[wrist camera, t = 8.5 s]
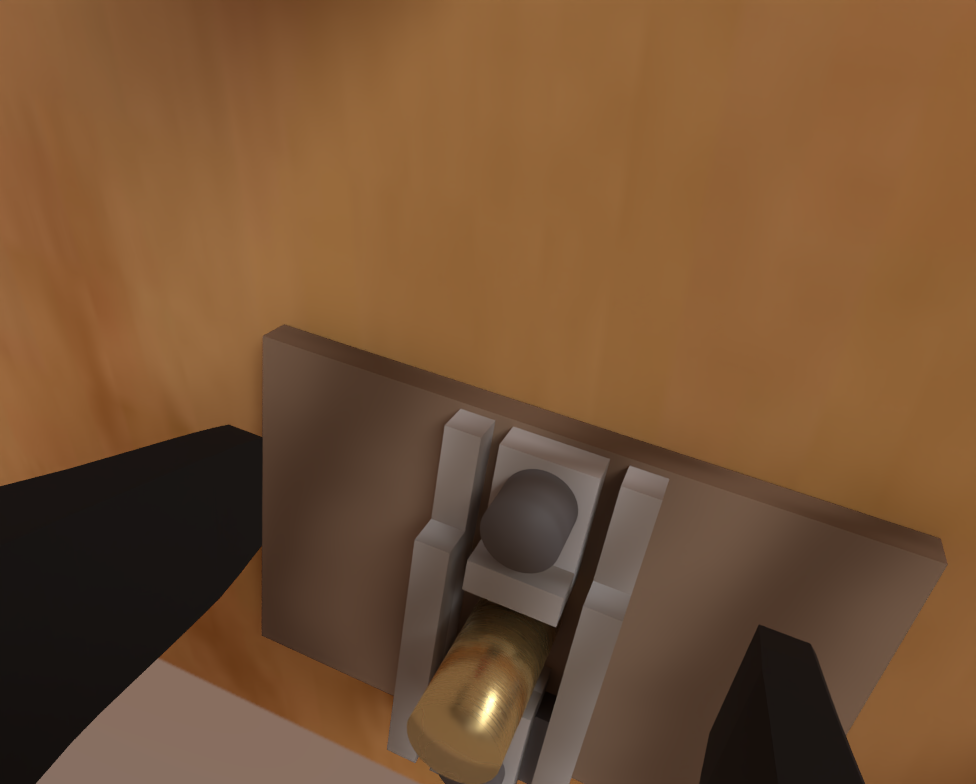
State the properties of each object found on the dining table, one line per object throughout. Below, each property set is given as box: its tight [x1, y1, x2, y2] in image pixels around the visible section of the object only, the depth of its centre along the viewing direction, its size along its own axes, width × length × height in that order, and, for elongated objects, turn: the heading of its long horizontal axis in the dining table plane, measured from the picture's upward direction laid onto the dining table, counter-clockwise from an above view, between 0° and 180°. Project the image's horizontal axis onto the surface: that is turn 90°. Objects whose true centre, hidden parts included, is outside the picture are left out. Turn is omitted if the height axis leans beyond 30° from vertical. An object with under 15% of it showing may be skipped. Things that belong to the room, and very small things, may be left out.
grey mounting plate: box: [262, 325, 948, 784], centre depth 21 cm, size 18×12×4 cm, turn 81°
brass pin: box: [407, 597, 562, 784], centre depth 19 cm, size 2×2×5 cm
